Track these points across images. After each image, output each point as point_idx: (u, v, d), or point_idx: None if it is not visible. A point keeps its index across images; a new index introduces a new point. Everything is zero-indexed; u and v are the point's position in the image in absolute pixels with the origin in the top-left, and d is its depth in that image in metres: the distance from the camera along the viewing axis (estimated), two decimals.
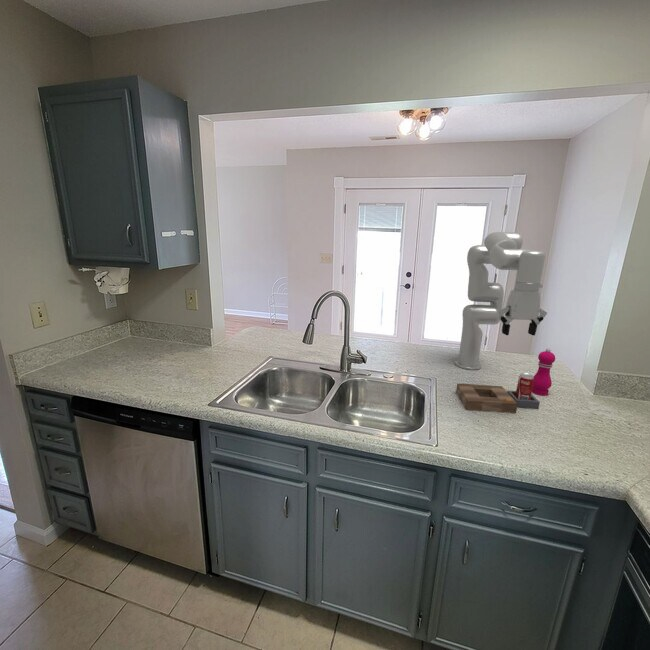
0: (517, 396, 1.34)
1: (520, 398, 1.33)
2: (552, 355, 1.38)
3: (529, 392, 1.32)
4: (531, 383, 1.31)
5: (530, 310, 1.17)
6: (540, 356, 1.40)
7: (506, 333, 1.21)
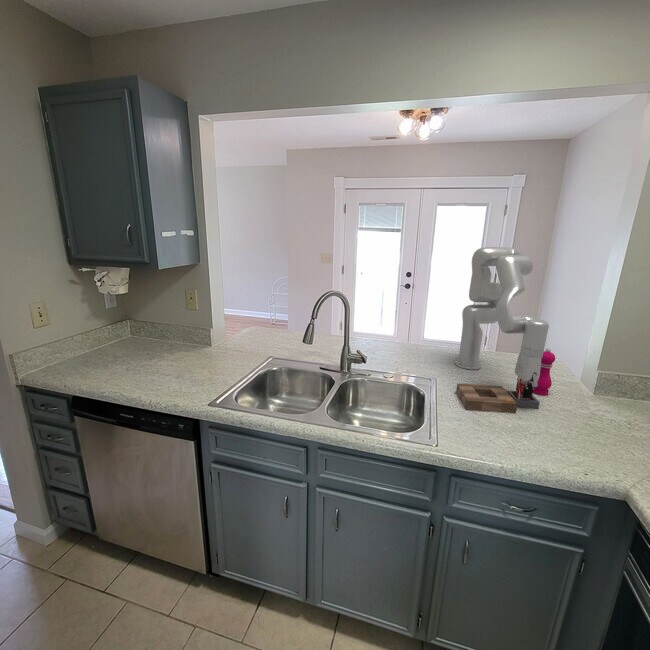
0: (517, 396, 1.34)
1: (520, 398, 1.33)
2: (552, 355, 1.38)
3: None
4: None
5: None
6: None
7: (530, 396, 1.31)
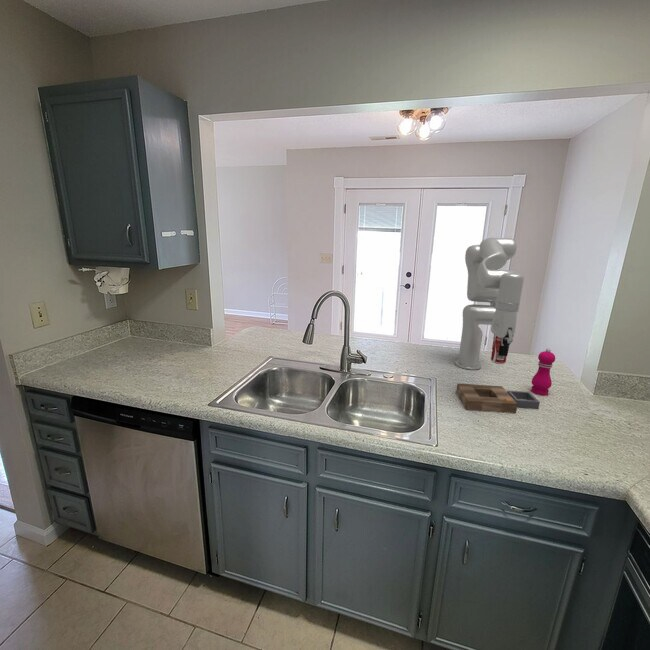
0: (493, 355, 1.30)
1: (496, 356, 1.29)
2: (552, 355, 1.38)
3: None
4: (506, 339, 1.26)
5: None
6: (540, 356, 1.40)
7: (506, 354, 1.27)
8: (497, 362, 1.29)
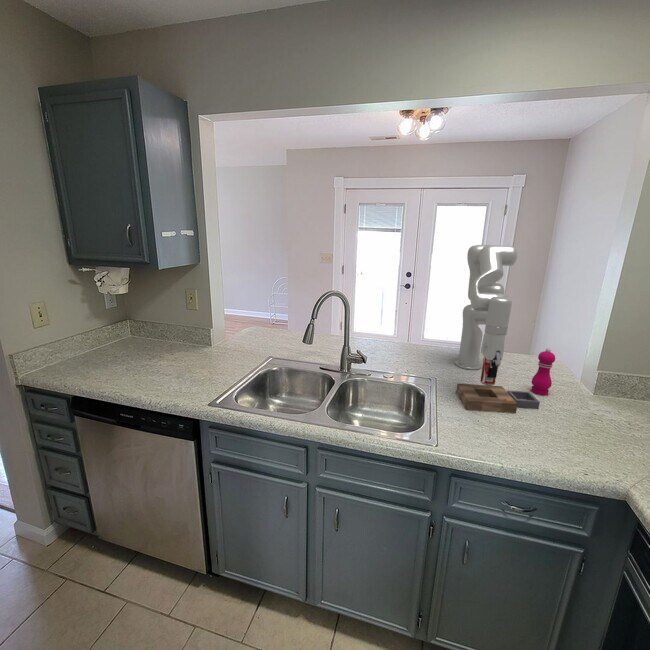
0: (482, 376, 1.32)
1: (485, 378, 1.31)
2: (552, 355, 1.38)
3: None
4: None
5: None
6: (540, 356, 1.40)
7: (495, 376, 1.29)
8: (486, 383, 1.31)
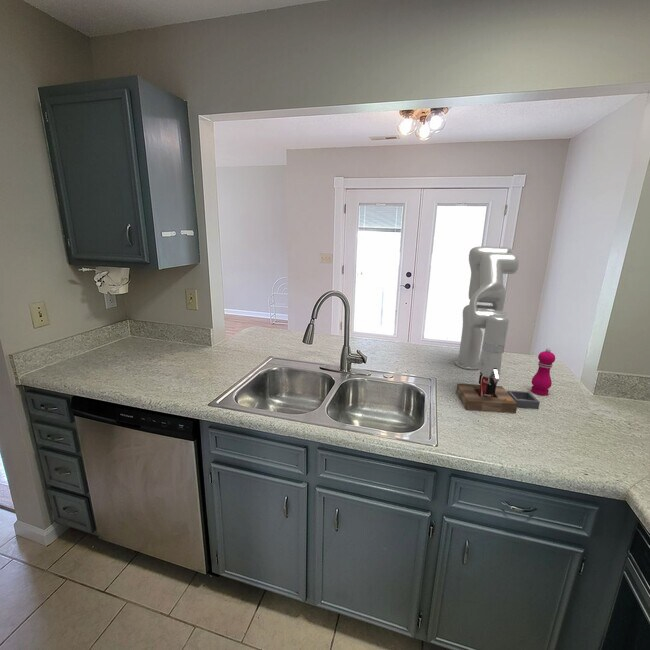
0: (480, 395, 1.34)
1: None
2: (552, 355, 1.38)
3: None
4: None
5: None
6: (540, 356, 1.40)
7: (493, 392, 1.30)
8: None
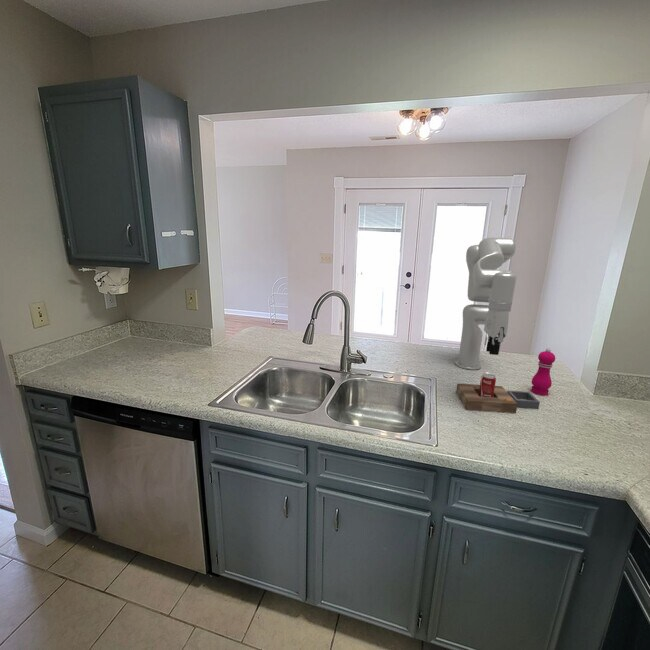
0: (480, 396, 1.34)
1: None
2: (552, 355, 1.38)
3: (491, 391, 1.32)
4: (492, 382, 1.30)
5: None
6: (540, 356, 1.40)
7: (497, 353, 1.28)
8: None
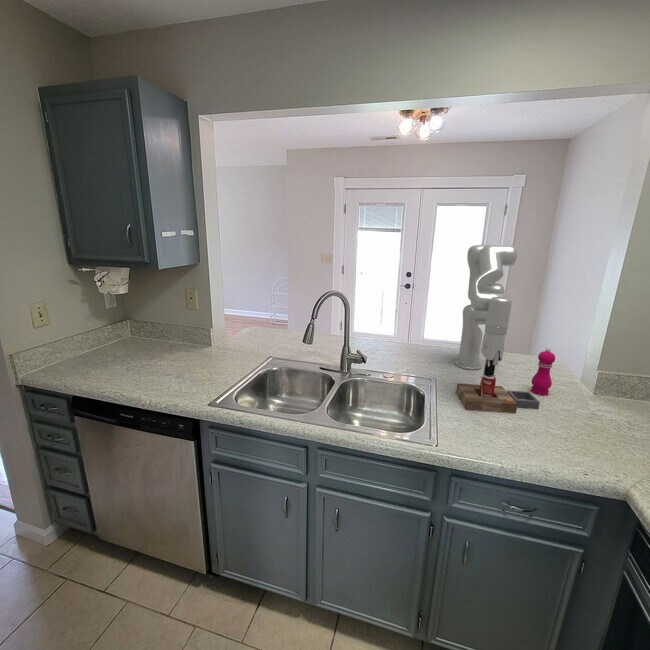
0: (480, 396, 1.34)
1: None
2: (552, 355, 1.38)
3: (491, 392, 1.31)
4: (492, 382, 1.30)
5: None
6: (540, 356, 1.40)
7: (492, 374, 1.31)
8: None
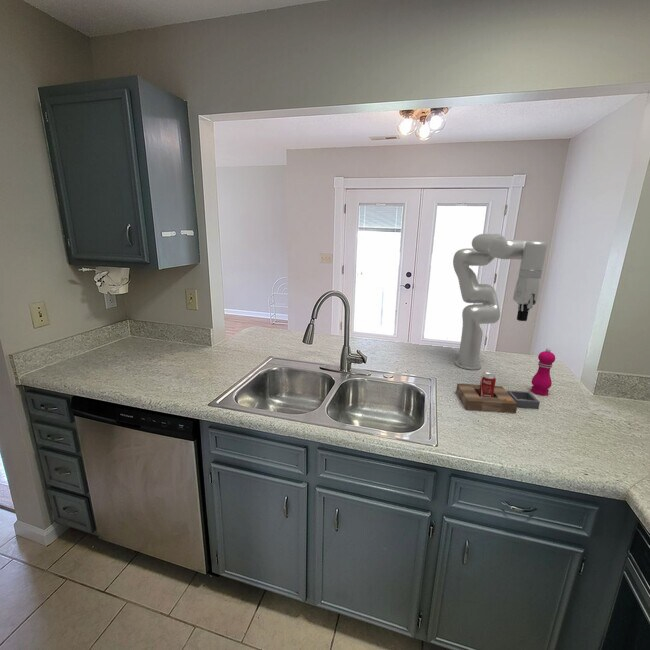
0: (480, 396, 1.34)
1: None
2: (552, 355, 1.38)
3: (491, 392, 1.32)
4: (492, 382, 1.30)
5: None
6: (540, 356, 1.40)
7: (525, 319, 1.34)
8: None
